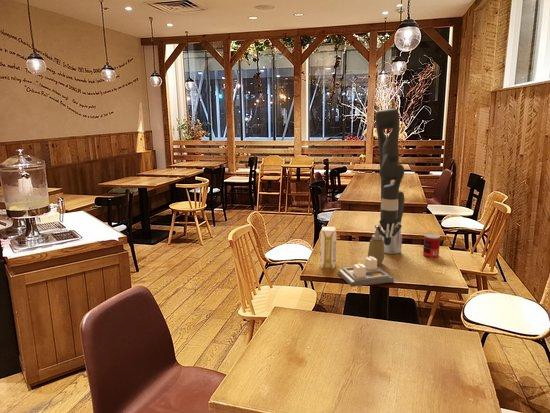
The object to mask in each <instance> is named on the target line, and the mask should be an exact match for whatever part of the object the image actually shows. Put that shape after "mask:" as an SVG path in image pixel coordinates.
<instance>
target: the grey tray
mask: <svg viewBox="0 0 550 413" xmlns="http://www.w3.org/2000/svg"><path fill="white" fill-rule="evenodd" d="M363 265H364V266H365V264H363ZM353 271H354V266H348V267H347V266H346V267H345V266H344V267H342V268H341V269H338V270H337V274H338V276H340V278H342V279H343V280H344V281H345V282H346V283H347V284H348V285H349V286H350V287H351V288H352V287H362V286H369V285H371V286H372V285H379V284H386V283H394V279H395V278H394V276H393V275H391V274H389V273H388V272H387V271H385V270H384V269H383V268H381V267H380V265H377V269H376V270H367V269H366V277H363V278H356V277H355V276H354V275H353Z"/></svg>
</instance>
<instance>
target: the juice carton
mask: <svg viewBox="0 0 550 413" xmlns="http://www.w3.org/2000/svg"><path fill="white" fill-rule="evenodd" d="M319 241H320V242H319V243H320V244H319V246H320V247H319V264H320V268H321V269H333V270H334V269H335V266H336V263H337V262H336V261H337V259H336V258H337V230H336V227H335V226H322V228H321V231H320V240H319Z"/></svg>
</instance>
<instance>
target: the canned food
mask: <svg viewBox="0 0 550 413" xmlns="http://www.w3.org/2000/svg"><path fill="white" fill-rule="evenodd" d="M423 236H424V237H423V250H422V251H423V252H422V255H423V256H424V257H426V258H429V259H435V258H438V257H439V256H440V255H439V254H440V246H441V245H440V244H441V235H440V234H438V233H425V234H424V235H423Z"/></svg>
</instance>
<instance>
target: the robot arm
mask: <svg viewBox="0 0 550 413" xmlns="http://www.w3.org/2000/svg"><path fill="white" fill-rule="evenodd" d="M399 113H400V112H399V110H398V109H397V108H388V109H381V110H377V111H376V112H375V116H374V117H375V127H376V128H375V129H376V134H377V136H376V137H377V141H378V142H377V143H378V159H379V161H378V162H379V173H378V174H379V177H380V217H379V218H380V220H379V222H378V224H376V225H374V228H375V231H376V230H377V231H378V232H379V234H380V235H381V236H382V240H383V241H384V254H387V255H397V254H399V253H402V246H403V245H402V242H403V235H402V234H401V233H402V226H403V225H402V220H403V214H404V205H405V194H404V192H403V191H400V187H401V184H402V180H403V178H404V175H405V167H404V165H402V164H399V160H400V156H399V154H400V153H399V139H400V138H399V137H400V114H399ZM390 129H391V132H390V133H389V135H388V136H386V133H385V131H384V130H390ZM392 181H393V182H392ZM391 182H392V183H391Z"/></svg>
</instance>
